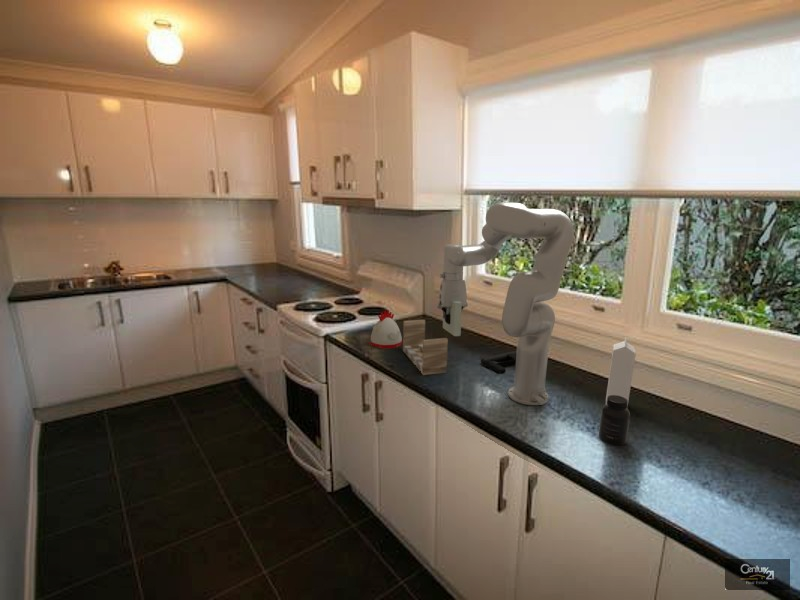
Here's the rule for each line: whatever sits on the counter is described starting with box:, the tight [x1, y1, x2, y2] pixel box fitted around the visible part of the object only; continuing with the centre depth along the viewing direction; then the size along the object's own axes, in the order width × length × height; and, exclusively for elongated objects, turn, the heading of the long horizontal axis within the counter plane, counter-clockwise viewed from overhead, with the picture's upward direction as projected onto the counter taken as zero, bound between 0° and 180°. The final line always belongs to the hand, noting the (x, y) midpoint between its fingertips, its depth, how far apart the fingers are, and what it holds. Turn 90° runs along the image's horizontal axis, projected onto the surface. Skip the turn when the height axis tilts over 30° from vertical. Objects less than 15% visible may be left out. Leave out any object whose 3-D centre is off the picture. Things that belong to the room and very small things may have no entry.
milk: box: [605, 336, 637, 408], centre depth 131 cm, size 6×6×22 cm
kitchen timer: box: [370, 309, 403, 349], centre depth 186 cm, size 14×14×15 cm
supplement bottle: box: [598, 395, 631, 447], centre depth 113 cm, size 7×7×12 cm
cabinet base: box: [402, 319, 449, 376], centre depth 166 cm, size 26×9×13 cm, turn 16°
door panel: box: [442, 301, 462, 337], centre depth 166 cm, size 12×3×13 cm, turn 16°
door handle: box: [480, 350, 517, 374], centre depth 164 cm, size 3×20×16 cm
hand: (451, 322), depth 167 cm, fingers closed on door panel, 2 cm apart
